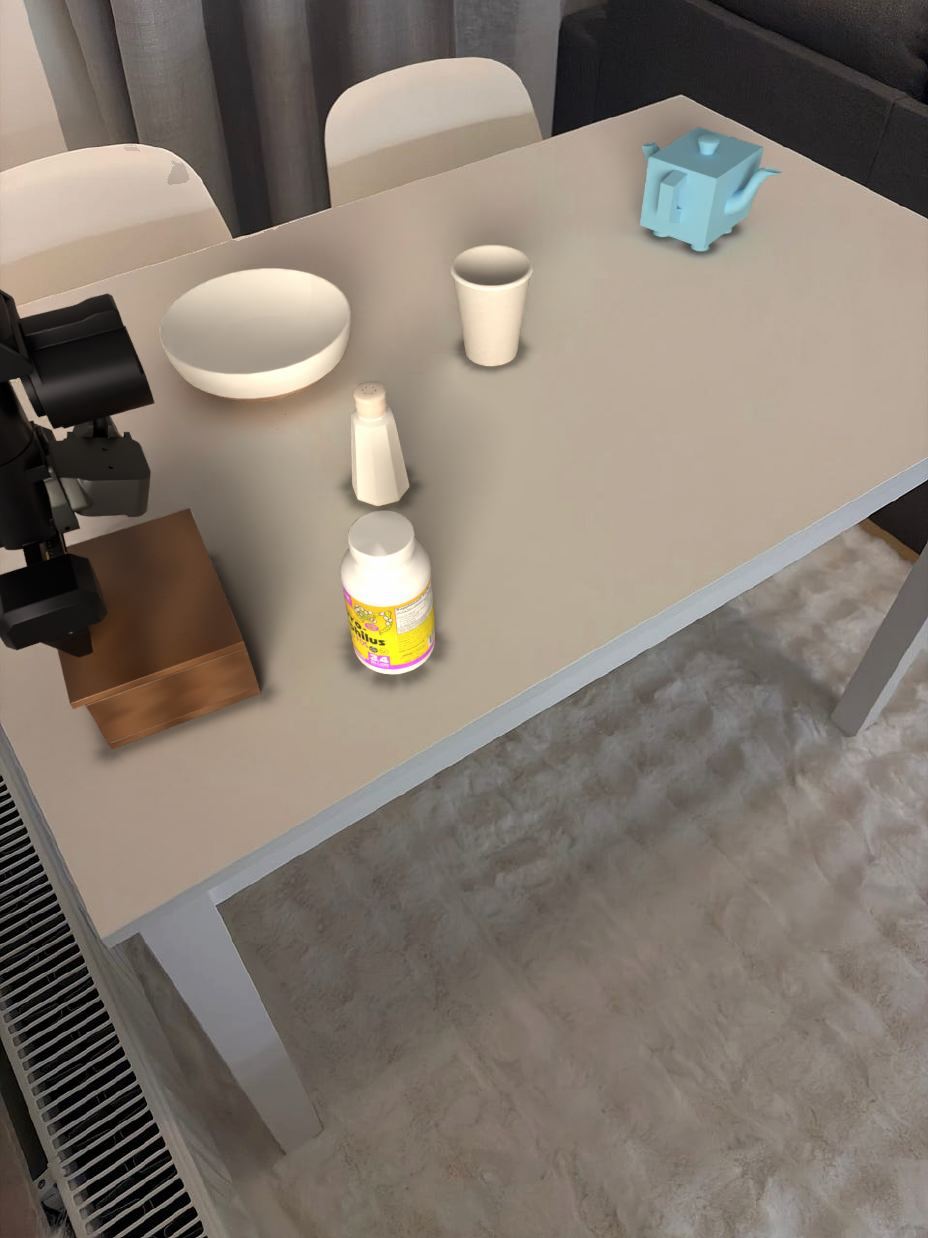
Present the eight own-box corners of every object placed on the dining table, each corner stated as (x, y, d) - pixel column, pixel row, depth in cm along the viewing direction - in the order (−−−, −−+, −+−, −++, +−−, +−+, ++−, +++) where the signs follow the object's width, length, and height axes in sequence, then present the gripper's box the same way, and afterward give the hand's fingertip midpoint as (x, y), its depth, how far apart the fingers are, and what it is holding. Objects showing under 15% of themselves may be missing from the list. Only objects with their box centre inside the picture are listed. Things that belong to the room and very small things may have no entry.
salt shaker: (348, 506, 84) (332, 409, 76) (356, 467, 88) (341, 370, 79) (406, 507, 84) (397, 410, 76) (412, 468, 87) (404, 371, 79)
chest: (111, 749, 68) (85, 705, 64) (74, 606, 77) (49, 559, 73) (261, 693, 71) (245, 647, 67) (208, 561, 80) (192, 513, 76)
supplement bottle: (338, 639, 74) (315, 526, 64) (405, 601, 77) (392, 486, 67) (384, 692, 71) (367, 582, 61) (452, 650, 73) (447, 537, 63)
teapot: (669, 188, 122) (682, 98, 114) (791, 230, 115) (816, 136, 106) (599, 235, 115) (609, 141, 106) (725, 283, 107) (746, 187, 98)
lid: (73, 709, 63) (46, 666, 60) (38, 562, 72) (13, 516, 69) (245, 647, 67) (230, 602, 63) (191, 513, 76) (175, 467, 72)
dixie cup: (525, 376, 96) (528, 289, 89) (447, 370, 97) (443, 284, 90) (533, 331, 102) (537, 246, 94) (459, 326, 103) (457, 241, 95)
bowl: (135, 390, 96) (117, 339, 92) (252, 300, 107) (241, 250, 102) (283, 448, 90) (272, 397, 85) (392, 347, 100) (387, 296, 96)
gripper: (151, 496, 52) (214, 661, 64) (90, 329, 63) (153, 497, 75) (-55, 559, 49) (52, 720, 61) (-82, 373, 60) (13, 541, 72)
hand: (74, 609), depth 67 cm, fingers open, 9 cm apart
